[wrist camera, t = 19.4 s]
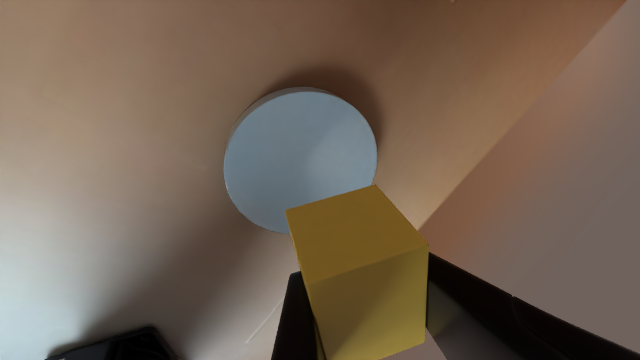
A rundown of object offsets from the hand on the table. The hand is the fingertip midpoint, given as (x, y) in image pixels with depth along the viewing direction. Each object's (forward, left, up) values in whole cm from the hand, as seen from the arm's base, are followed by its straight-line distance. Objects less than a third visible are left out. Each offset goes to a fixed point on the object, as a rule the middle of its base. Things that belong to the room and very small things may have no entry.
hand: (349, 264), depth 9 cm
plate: (0, 0, -8) cm, 8 cm away
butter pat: (0, 0, -1) cm, 1 cm away
